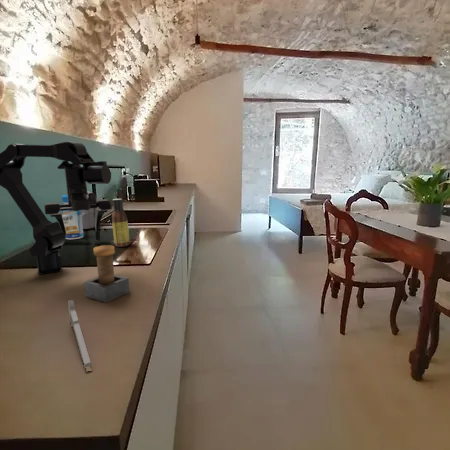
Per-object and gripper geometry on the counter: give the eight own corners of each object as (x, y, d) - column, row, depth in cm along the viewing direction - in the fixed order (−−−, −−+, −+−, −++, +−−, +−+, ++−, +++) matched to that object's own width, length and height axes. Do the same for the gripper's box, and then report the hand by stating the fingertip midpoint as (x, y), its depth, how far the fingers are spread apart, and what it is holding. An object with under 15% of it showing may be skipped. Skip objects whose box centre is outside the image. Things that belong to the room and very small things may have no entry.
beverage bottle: (87, 237, 154) (83, 194, 150) (71, 240, 147) (66, 196, 143) (77, 234, 158) (73, 193, 154) (60, 238, 151) (55, 195, 147)
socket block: (106, 302, 83) (104, 287, 82) (85, 296, 87) (84, 282, 86) (129, 291, 90) (128, 277, 89) (109, 286, 94) (108, 273, 93)
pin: (96, 298, 85) (91, 251, 83) (99, 291, 90) (95, 245, 88) (116, 296, 86) (113, 249, 84) (118, 289, 91) (115, 244, 89)
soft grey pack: (91, 225, 181) (88, 189, 177) (105, 225, 180) (102, 189, 176) (75, 231, 167) (71, 192, 163) (90, 231, 166) (87, 192, 162)
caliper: (69, 324, 73) (66, 298, 71) (75, 323, 73) (72, 297, 72) (86, 374, 56) (82, 341, 54) (93, 372, 56) (89, 339, 55)
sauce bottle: (132, 244, 140) (129, 198, 136) (123, 248, 134) (120, 200, 130) (120, 243, 142) (116, 197, 138) (110, 246, 136) (106, 199, 132)
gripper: (42, 187, 88) (49, 242, 91) (113, 184, 98) (117, 234, 101) (41, 184, 98) (47, 235, 101) (106, 182, 107) (110, 228, 110)
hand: (81, 233), depth 103 cm, fingers open, 9 cm apart
